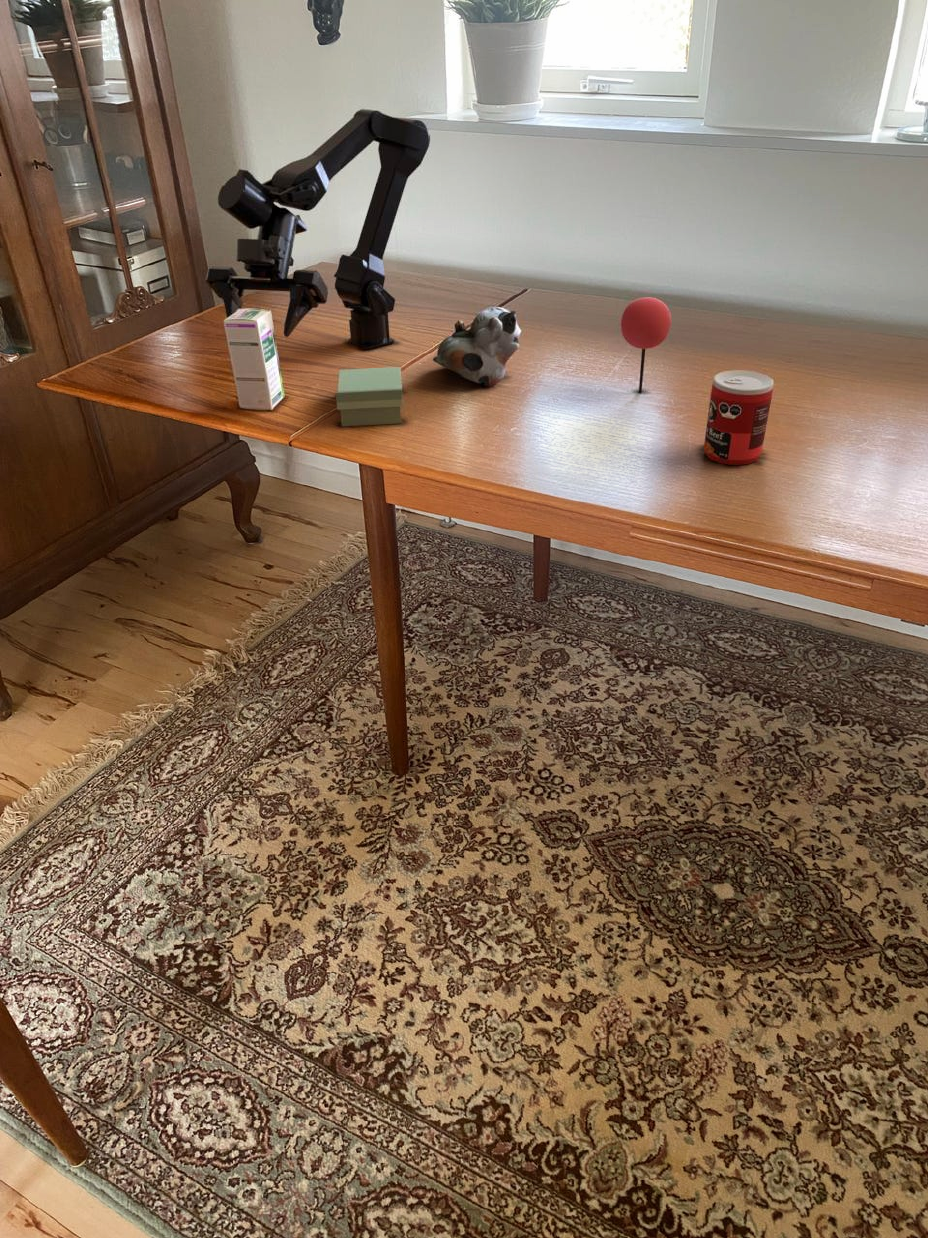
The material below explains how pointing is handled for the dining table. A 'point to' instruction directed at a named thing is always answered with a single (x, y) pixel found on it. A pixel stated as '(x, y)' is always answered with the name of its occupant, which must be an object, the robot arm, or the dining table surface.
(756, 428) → the canned food
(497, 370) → the lucky cat figurine
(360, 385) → the green lidded box
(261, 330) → the syrup box
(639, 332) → the lollipop
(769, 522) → the dining table surface
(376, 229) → the robot arm
